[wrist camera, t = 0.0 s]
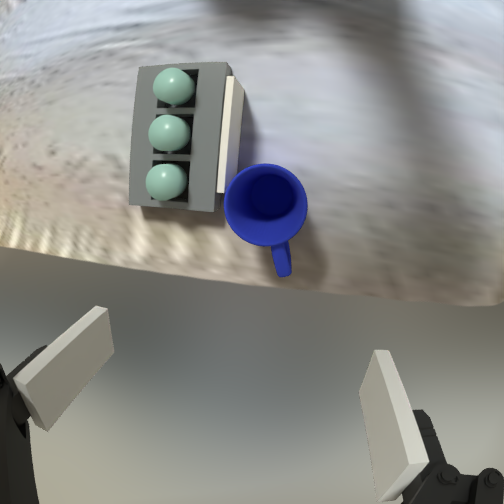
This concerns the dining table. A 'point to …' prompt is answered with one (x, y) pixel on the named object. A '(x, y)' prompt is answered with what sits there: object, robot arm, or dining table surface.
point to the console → (203, 136)
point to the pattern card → (230, 133)
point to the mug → (267, 209)
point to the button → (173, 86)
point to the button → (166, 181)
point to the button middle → (169, 133)
